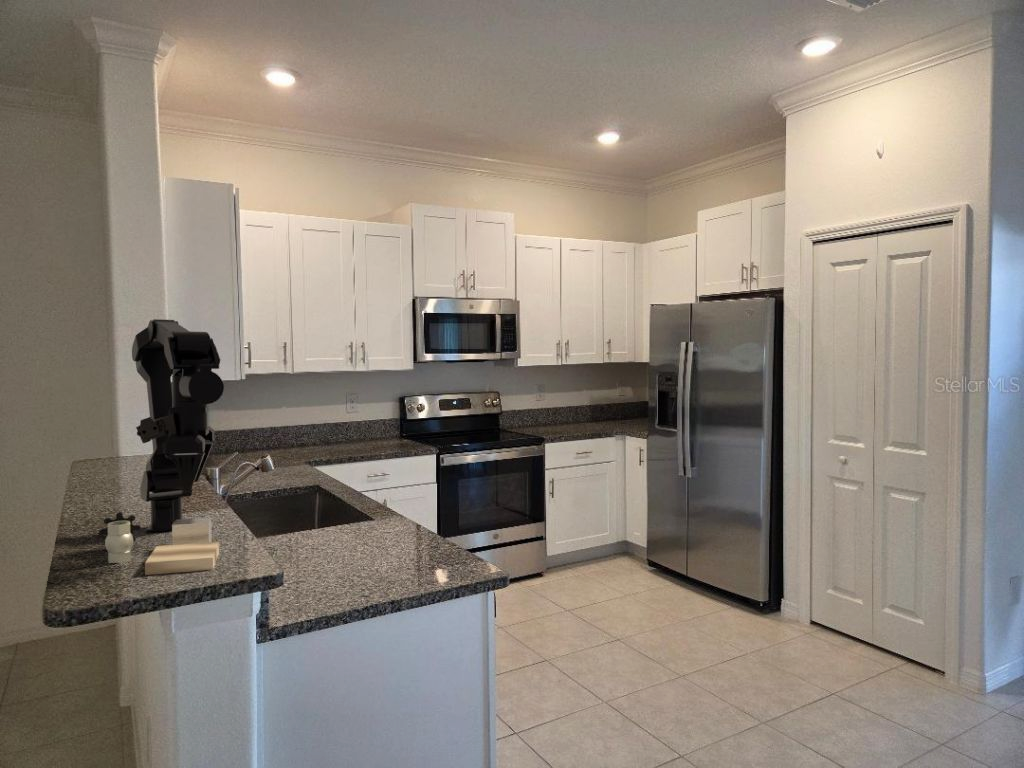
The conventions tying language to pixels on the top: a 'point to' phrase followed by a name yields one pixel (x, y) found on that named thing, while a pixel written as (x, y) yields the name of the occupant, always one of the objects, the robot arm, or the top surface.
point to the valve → (119, 537)
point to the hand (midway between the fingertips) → (191, 486)
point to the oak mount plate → (182, 558)
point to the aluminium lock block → (191, 531)
